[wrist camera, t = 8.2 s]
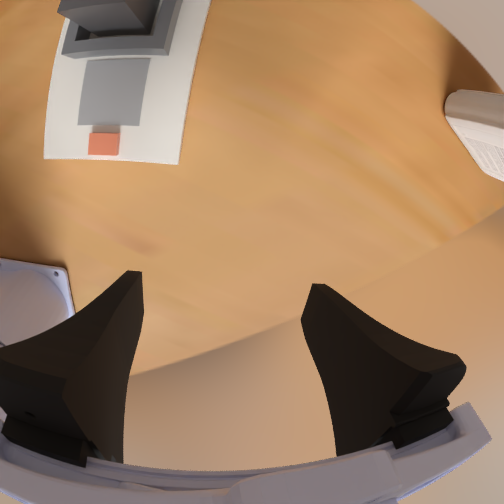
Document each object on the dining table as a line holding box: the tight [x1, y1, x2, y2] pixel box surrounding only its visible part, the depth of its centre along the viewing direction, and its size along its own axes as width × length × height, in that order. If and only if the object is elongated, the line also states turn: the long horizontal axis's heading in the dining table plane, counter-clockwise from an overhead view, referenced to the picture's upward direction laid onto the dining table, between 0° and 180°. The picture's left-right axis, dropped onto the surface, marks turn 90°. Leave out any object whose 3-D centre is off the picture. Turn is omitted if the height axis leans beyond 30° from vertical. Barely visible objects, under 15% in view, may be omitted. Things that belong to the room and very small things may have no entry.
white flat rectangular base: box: [44, 0, 212, 165], centre depth 12 cm, size 10×16×3 cm, turn 170°
